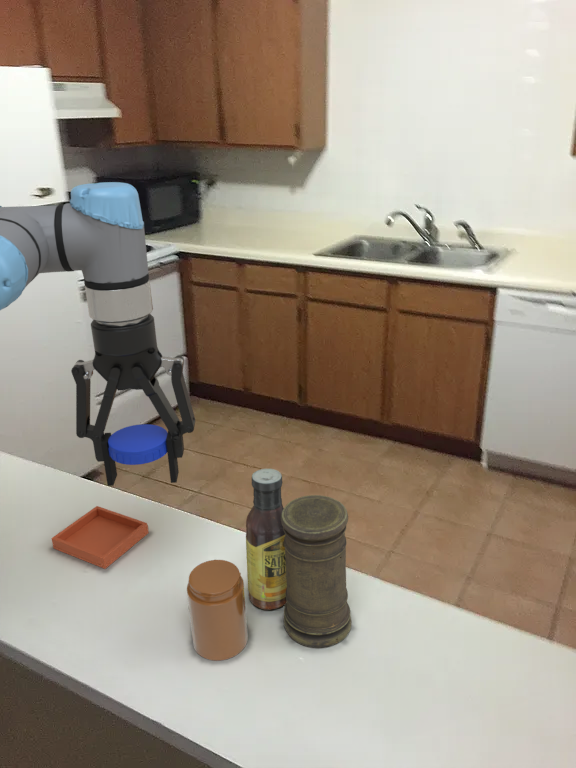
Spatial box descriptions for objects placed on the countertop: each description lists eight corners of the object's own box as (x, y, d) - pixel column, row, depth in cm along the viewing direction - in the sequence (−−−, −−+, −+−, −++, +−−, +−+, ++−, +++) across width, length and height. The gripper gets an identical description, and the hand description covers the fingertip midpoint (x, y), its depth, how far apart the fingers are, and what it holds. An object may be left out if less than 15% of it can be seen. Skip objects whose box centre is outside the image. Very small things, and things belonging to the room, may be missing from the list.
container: (361, 639, 87) (362, 525, 80) (295, 656, 85) (290, 540, 78) (337, 594, 95) (336, 486, 88) (276, 609, 93) (270, 499, 86)
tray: (53, 548, 107) (51, 538, 106) (98, 515, 115) (96, 505, 115) (105, 569, 102) (103, 558, 101) (148, 533, 110) (147, 522, 109)
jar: (191, 662, 85) (183, 597, 80) (194, 621, 91) (187, 559, 87) (248, 658, 85) (243, 593, 81) (247, 617, 92) (242, 555, 87)
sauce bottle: (271, 619, 91) (263, 495, 83) (239, 598, 95) (229, 479, 87) (302, 594, 96) (298, 474, 88) (271, 575, 99) (264, 459, 92)
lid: (173, 435, 92) (171, 422, 91) (165, 463, 84) (164, 450, 84) (116, 437, 91) (114, 425, 91) (103, 466, 84) (101, 453, 84)
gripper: (209, 304, 84) (221, 461, 94) (45, 310, 84) (73, 468, 93) (204, 322, 78) (218, 490, 87) (26, 330, 77) (59, 498, 86)
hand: (143, 478), depth 90 cm, fingers closed on lid, 8 cm apart
